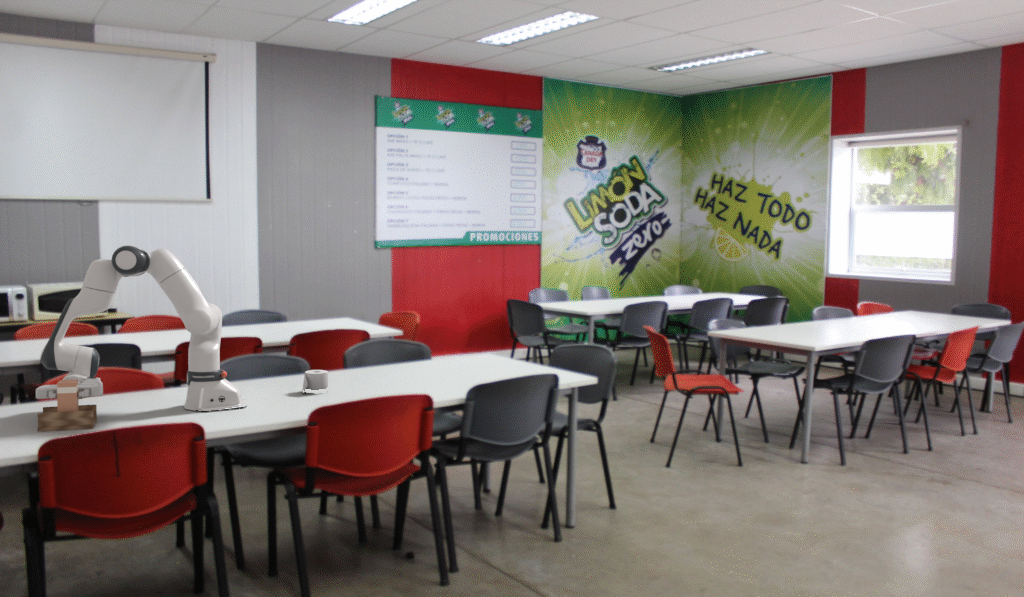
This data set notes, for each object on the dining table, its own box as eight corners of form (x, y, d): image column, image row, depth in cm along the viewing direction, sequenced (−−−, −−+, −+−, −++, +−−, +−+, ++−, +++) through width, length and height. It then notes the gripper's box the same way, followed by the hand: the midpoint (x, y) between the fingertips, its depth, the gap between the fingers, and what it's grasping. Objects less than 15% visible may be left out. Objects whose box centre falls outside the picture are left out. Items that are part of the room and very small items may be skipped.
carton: (78, 419, 269) (78, 379, 267) (76, 423, 263) (76, 382, 262) (60, 420, 267) (59, 379, 265) (57, 424, 261) (56, 383, 260)
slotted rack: (96, 420, 274) (96, 403, 273) (92, 428, 263) (92, 411, 262) (44, 423, 268) (43, 406, 267) (37, 431, 257) (37, 414, 256)
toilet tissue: (298, 395, 322) (298, 374, 322) (309, 389, 336) (309, 369, 335) (320, 396, 321) (320, 375, 321) (330, 390, 335) (330, 370, 334)
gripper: (38, 380, 272) (31, 387, 259) (105, 377, 280) (100, 384, 267) (39, 398, 273) (31, 406, 260) (105, 394, 280) (101, 403, 267)
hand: (67, 395), depth 263 cm, fingers open, 7 cm apart
